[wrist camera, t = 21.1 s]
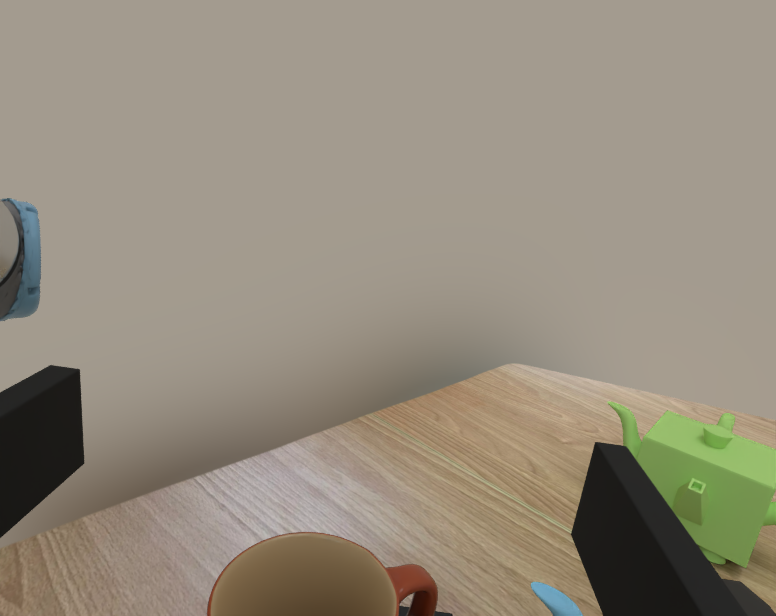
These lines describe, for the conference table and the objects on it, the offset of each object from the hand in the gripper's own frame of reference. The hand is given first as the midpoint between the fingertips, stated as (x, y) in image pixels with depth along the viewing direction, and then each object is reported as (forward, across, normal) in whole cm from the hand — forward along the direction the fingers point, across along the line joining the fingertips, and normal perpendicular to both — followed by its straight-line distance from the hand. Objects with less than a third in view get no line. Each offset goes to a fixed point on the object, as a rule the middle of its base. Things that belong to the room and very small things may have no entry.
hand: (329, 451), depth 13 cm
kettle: (+36, +33, -25) cm, 55 cm away
